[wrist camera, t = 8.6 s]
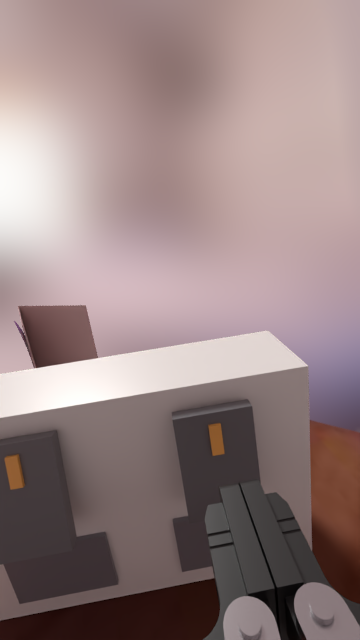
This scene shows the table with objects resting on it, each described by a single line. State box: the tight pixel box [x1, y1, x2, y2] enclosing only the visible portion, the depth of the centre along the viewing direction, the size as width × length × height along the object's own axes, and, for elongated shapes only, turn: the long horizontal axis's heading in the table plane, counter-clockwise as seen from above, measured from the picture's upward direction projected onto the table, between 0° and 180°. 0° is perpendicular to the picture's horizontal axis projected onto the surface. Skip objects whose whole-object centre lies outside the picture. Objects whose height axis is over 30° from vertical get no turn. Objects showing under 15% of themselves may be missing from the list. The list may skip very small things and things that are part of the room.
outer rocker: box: [172, 399, 261, 524], centre depth 16 cm, size 4×1×6 cm, turn 95°
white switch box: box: [0, 331, 312, 621], centre depth 21 cm, size 21×6×14 cm, turn 95°
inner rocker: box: [0, 430, 77, 565], centre depth 16 cm, size 4×1×6 cm, turn 95°
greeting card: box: [15, 305, 98, 369], centre depth 38 cm, size 11×7×15 cm, turn 29°
